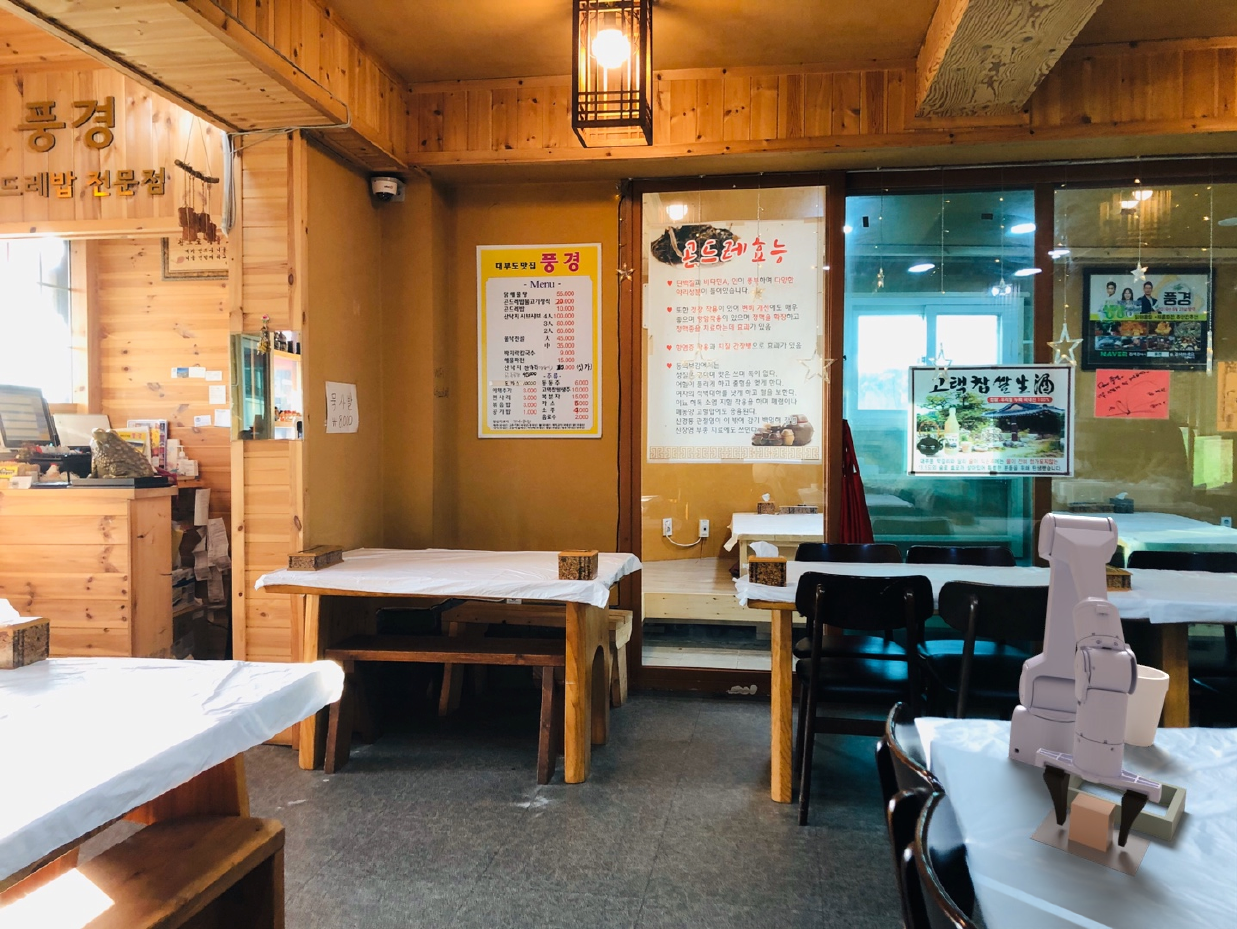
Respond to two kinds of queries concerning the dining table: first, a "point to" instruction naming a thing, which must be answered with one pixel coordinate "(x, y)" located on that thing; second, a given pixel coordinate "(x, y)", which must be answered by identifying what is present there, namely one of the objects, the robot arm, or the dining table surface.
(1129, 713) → the foam cup
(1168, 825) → the olive bin
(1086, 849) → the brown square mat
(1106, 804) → the clay block
